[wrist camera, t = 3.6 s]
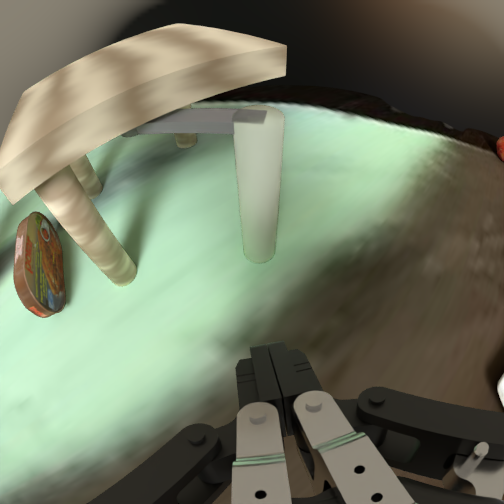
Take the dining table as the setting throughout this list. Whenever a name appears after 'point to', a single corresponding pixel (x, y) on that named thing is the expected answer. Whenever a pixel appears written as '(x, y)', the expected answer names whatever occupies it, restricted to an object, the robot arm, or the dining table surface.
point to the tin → (39, 266)
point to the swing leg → (241, 163)
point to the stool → (118, 118)
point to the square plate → (501, 389)
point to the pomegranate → (500, 148)
